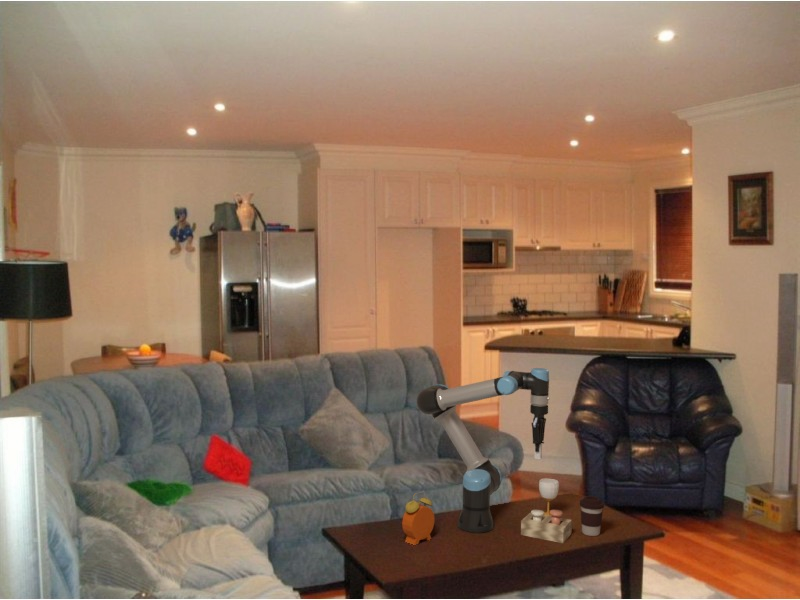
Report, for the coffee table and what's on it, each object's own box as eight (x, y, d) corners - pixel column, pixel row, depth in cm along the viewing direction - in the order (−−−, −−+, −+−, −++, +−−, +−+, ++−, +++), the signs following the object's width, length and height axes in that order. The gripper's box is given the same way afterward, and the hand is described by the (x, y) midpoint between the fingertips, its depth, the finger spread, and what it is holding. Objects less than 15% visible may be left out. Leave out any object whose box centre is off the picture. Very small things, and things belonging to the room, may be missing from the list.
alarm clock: (423, 534, 310) (424, 487, 309) (434, 538, 305) (435, 490, 304) (401, 542, 301) (401, 494, 299) (411, 547, 296) (412, 497, 295)
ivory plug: (529, 531, 313) (529, 512, 313) (533, 527, 318) (533, 508, 317) (540, 533, 311) (541, 514, 310) (544, 529, 315) (545, 510, 315)
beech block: (520, 534, 311) (521, 520, 311) (530, 525, 322) (530, 512, 322) (563, 543, 303) (563, 528, 303) (571, 533, 313) (571, 519, 313)
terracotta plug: (547, 531, 309) (548, 512, 309) (551, 527, 314) (551, 508, 313) (559, 534, 307) (560, 514, 306) (563, 530, 311) (564, 510, 311)
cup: (560, 520, 330) (561, 484, 329) (539, 519, 330) (540, 483, 329) (556, 513, 339) (557, 478, 338) (536, 512, 339) (537, 477, 338)
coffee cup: (603, 538, 309) (604, 503, 308) (579, 536, 311) (580, 501, 310) (602, 530, 318) (603, 495, 317) (578, 528, 320) (579, 493, 319)
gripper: (543, 408, 312) (541, 463, 314) (552, 402, 324) (550, 456, 325) (526, 406, 316) (524, 460, 317) (535, 401, 327) (534, 454, 329)
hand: (537, 458), depth 321 cm, fingers closed
